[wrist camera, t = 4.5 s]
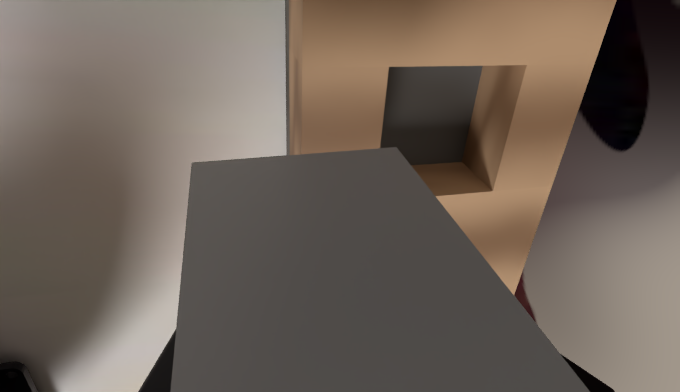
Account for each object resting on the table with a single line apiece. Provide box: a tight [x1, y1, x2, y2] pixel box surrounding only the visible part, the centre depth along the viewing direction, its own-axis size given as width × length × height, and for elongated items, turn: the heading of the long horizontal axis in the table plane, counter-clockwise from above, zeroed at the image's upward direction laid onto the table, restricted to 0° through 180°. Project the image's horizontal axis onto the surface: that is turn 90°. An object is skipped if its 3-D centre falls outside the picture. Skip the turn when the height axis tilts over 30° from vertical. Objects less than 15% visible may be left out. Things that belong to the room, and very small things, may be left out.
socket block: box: [285, 0, 616, 295], centre depth 20 cm, size 20×12×4 cm, turn 177°
